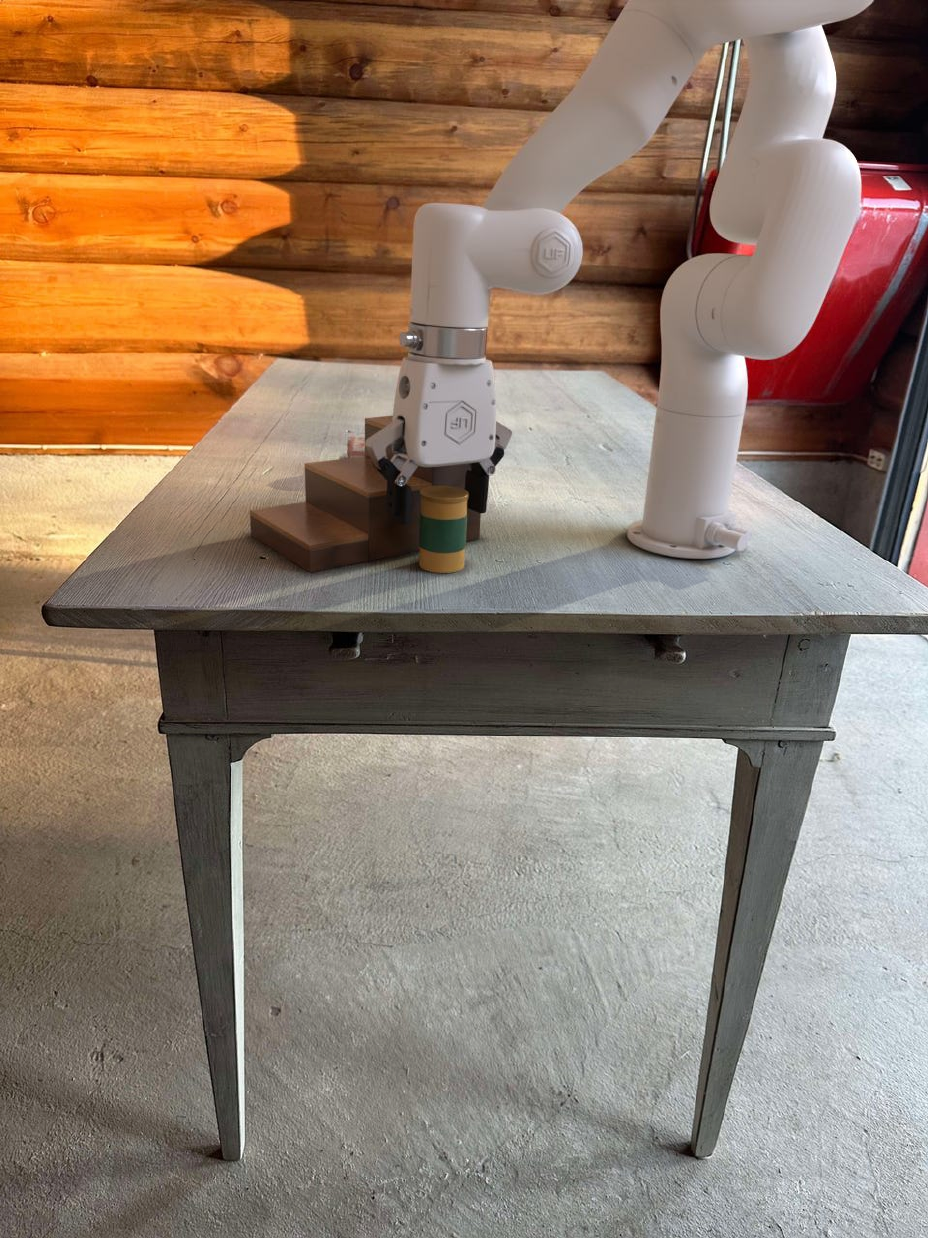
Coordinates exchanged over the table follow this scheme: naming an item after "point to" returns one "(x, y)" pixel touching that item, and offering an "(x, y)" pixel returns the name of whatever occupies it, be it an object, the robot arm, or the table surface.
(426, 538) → the tin
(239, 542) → the table surface
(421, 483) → the step shelf
